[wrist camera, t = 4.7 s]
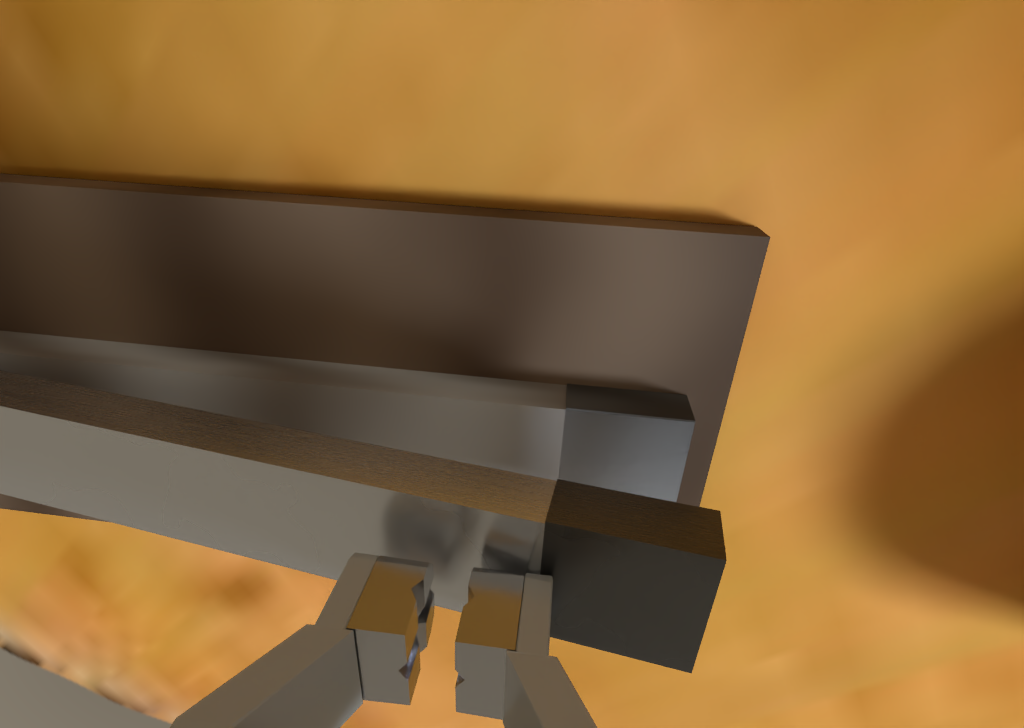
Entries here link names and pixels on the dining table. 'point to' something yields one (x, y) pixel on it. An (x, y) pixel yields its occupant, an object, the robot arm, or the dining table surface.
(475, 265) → the board
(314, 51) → the dining table surface
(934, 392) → the dining table surface
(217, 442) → the tongs arm
